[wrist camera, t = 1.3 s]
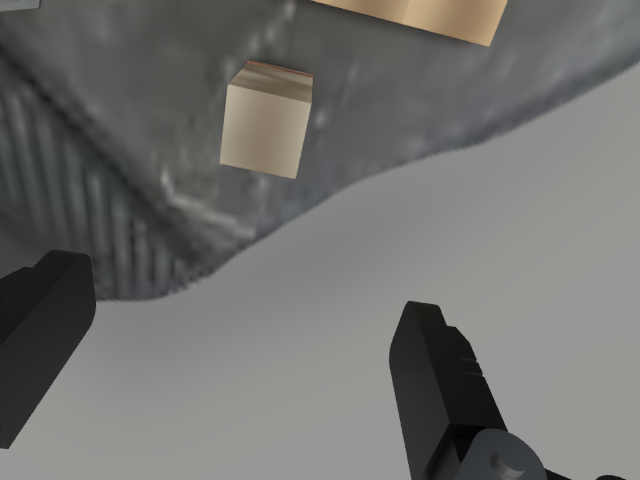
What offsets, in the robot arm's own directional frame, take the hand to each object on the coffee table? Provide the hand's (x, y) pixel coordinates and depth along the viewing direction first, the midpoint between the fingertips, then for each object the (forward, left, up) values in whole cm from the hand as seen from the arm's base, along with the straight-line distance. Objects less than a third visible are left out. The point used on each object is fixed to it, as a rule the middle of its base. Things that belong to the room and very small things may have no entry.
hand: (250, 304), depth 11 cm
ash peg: (-1, 0, -22) cm, 22 cm away
